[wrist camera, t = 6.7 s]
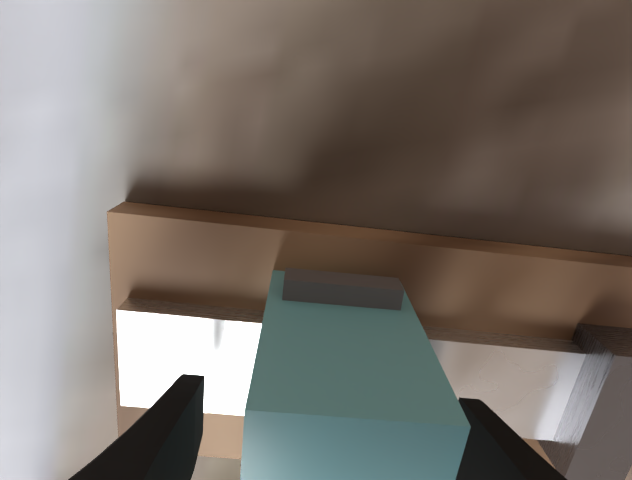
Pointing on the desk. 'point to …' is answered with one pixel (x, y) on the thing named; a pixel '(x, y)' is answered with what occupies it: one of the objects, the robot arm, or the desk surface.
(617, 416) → the rail
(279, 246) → the mounting board
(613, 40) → the desk surface
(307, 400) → the block
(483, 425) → the robot arm
